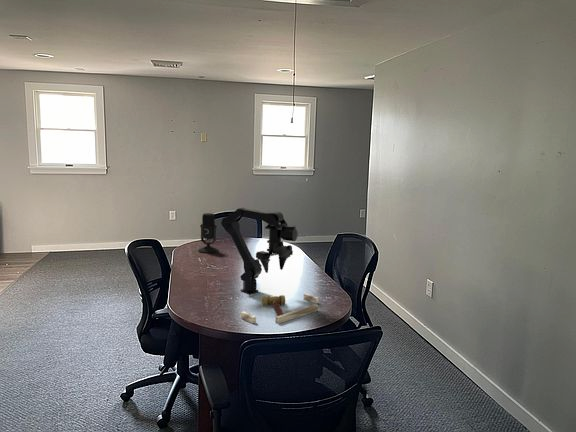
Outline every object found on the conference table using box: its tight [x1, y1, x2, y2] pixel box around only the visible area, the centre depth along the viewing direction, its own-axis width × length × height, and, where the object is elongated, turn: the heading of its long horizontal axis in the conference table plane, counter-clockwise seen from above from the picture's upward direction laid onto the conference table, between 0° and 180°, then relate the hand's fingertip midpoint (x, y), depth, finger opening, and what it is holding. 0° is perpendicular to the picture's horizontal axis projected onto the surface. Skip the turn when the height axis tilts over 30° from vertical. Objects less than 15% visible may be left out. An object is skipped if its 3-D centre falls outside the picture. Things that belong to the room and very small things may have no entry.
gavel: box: [261, 294, 286, 316], centre depth 198 cm, size 21×5×10 cm
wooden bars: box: [240, 293, 320, 325], centre depth 198 cm, size 14×39×2 cm, turn 134°
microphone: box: [197, 212, 219, 254], centre depth 306 cm, size 14×14×25 cm
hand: (274, 271), depth 218 cm, fingers open, 9 cm apart
